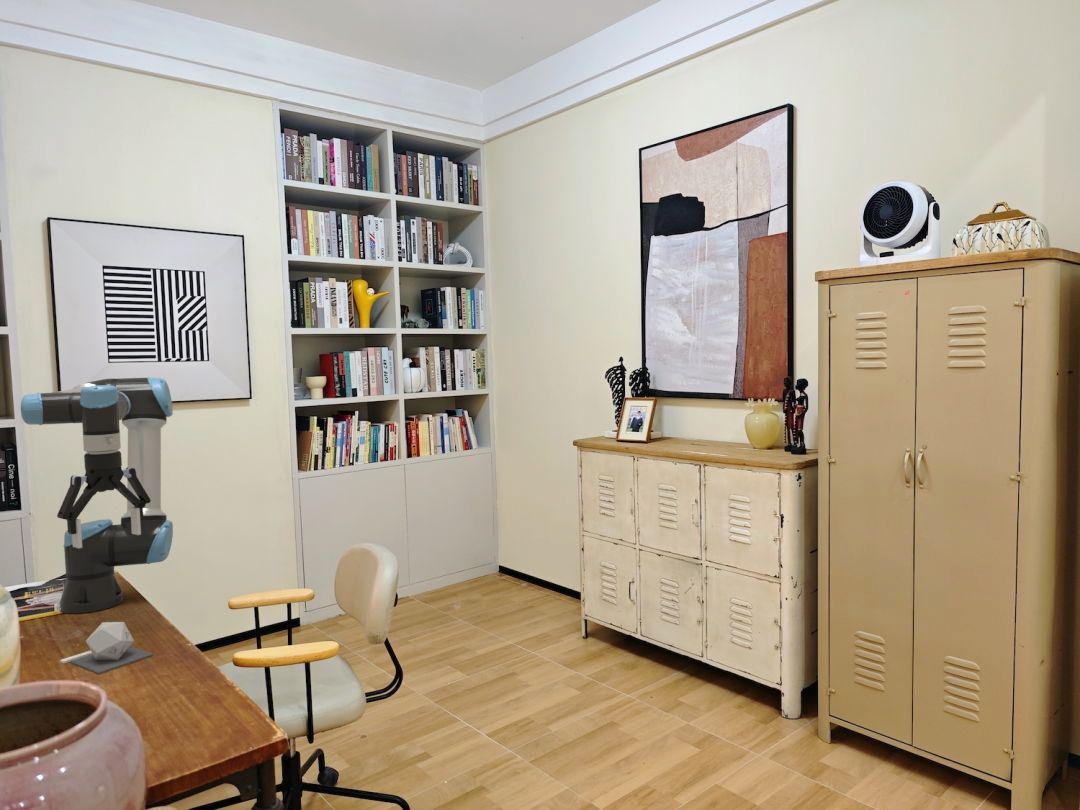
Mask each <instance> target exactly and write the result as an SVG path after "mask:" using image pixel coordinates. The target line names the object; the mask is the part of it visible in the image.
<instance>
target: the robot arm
mask: <svg viewBox="0 0 1080 810" xmlns="http://www.w3.org/2000/svg"><path fill="white" fill-rule="evenodd" d="M171 395H172V394H171V391H170V387H169V385H168V382H167V381H166V380H165V379H164V378H161V377H149V376H147V377H131V378H130V377H128V378H127V377H125V378H104V379H98V380H94V381H88V382H85V383H81V384H78V385H75V386H74V387H73V388H71V389H65V390H60V391H59V390H58V391H54V392H53V391H52V392H42V393H41V392H36V393H27V394H25V395H24V396H23V397H22V399H21V401H20V415H21V418H22V421H23V422H24V423H25V424H26V425H33V426H34V425H38V426H42V425H59V424H61V425H62V424H82V442H83V446H82V447H83V451H84V452H86V453H85V454H83V457H84V458H83V459H84V470H85V473H84V475H81V476H80V475H79V476H78V475H71V476H70V482H69V483H70V484H69V487H68V489H67V492H66V493H65V496H64V498H63V501H62V502H61V503H62V504H61V505H60V508H59V510H58V512H57V515H56V517H57V518H59V519H62V520H66V524H67V525H66V527H67V529H66V531H65V532H64V535H63V537H64V540H63V541H64V542H63V543H64V544H63V549H64V550H63V551H64V565H65V566H64V567H65V585H64V587H63V591H62V594H61V597H60V601H59V609H60V608H61V610H62V611H61V613H65V614H86V613H93V612H100V611H103V610H106V609H110V608H113V607H116V606H118V605H119V604H122V602H123V600H124V598H123V597H124V596H123V595H124V594H123V591H122V588H121V587H120V584H119V582H118V580H117V577H116V574H115V567H123V566H135V565H145V564H147V565H150V564H155V563H161V562H164V561H165V560H167V558H168V556H169V555H170V551H171V547H172V542H173V537H174V536H173V535H174V530H173V528H174V524H173V521H172V520H169V519H167V518H168V517H167V516H168V515H167V514H166V513H165V512H164V511H163V510H162V507H161V506H162V505H161V504H162V503H161V502H162V501H161V498H162V497H161V496H162V495H161V494H162V492H161V490H162V488H161V485H162V483H161V482H162V481H161V480H162V479H161V478H162V475H161V473H162V471H161V470H162V469H161V468H162V467H161V466H162V465H161V464H162V461H161V460H162V459H161V458H162V453H161V452H162V450H161V449H162V444H161V443H162V441H161V440H162V428H163V427H164V426H165V425H166V424H167V423H168V422H167V418H170V417H172V416H173V415H174V414H173V413H174V412H173V408H174V407H173V402H172V400H173V399H172V396H171ZM120 421H121V424H122V425H123V426H124V427H126V429H127V467H126V468H125V469H122V465H123V464H122V463H123V461H122V452H121V451H120V449H121V448H122V446H121V432H120ZM123 478H126V480H127V481H126V482H127V485H125V483H124V482H122V481H121V480H122V479H123ZM84 483H86V484H87V485H86V486H85V487H84V489H83V491H82V493H81V494H80V495H79V492H80V491H81V487H82V486H83V485H84ZM115 490H116V491H117V492H119V493H120V495H122V496H123V497H124V498H125V499H126V512H125V513H124V514H123V515H122V516H121V517H120V524H114V523H113V521H112V519H109V518H107V519H98V520H93V521H87V522H84V523H82V522H81V519H79V518H78V517H79V516H80V514H81V513H82V512H83V510H84V509H85V508H86V506H87V505H88V504H89V502H90V501H91V499H92V498H93V497H94V496H95V495H96V494H97V493H103V492H104V493H105V492H106V491H115ZM78 496H79V497H78ZM77 497H78V499H77Z"/></svg>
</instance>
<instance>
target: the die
mask: <svg viewBox="0 0 1080 810" xmlns="http://www.w3.org/2000/svg"><path fill="white" fill-rule="evenodd" d="M85 642H86V644H87V646H88V648H89V651H90V650H91V652H92V655H94V657H95V659H96V660H118V659H119V658H120V657H121V656H122V655H123V653H124V652H125V651H126V650H127V649H128V647H129V646H131V645H132V644H133V643H134V642H135V640H134V638H133V636H132V635H131V632H130V631H129V629H128V627H127V625H126V623H125V622H124V621H120V622H119V621H111V622H110V621H105V622H104V621H102V622H101V624H100V625H99V626H98V627H96V629H94V631H93V632H92V633H91V634H90V635H89V637H87V639H85Z"/></svg>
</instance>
